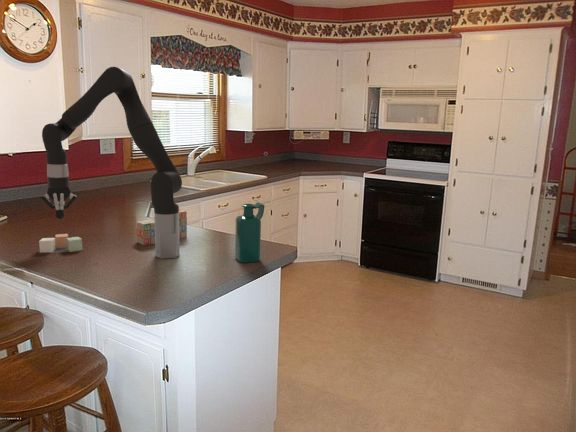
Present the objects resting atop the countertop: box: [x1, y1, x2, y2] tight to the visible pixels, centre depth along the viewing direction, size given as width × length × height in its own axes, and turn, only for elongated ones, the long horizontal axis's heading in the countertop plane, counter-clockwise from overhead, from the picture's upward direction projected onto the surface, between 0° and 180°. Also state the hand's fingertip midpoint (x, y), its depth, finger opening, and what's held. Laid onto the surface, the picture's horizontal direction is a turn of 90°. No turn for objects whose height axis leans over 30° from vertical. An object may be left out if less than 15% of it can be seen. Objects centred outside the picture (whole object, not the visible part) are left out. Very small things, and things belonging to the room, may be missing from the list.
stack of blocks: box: [136, 209, 188, 246], centre depth 207 cm, size 21×6×12 cm, turn 136°
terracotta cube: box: [54, 233, 70, 248], centre depth 190 cm, size 4×4×4 cm
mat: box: [38, 243, 84, 254], centre depth 187 cm, size 11×15×1 cm
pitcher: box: [234, 201, 265, 264], centre depth 182 cm, size 10×8×22 cm
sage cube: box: [66, 236, 83, 253], centre depth 186 cm, size 4×4×4 cm
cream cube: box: [38, 237, 56, 252], centre depth 183 cm, size 4×4×4 cm
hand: (60, 218), depth 188 cm, fingers closed
